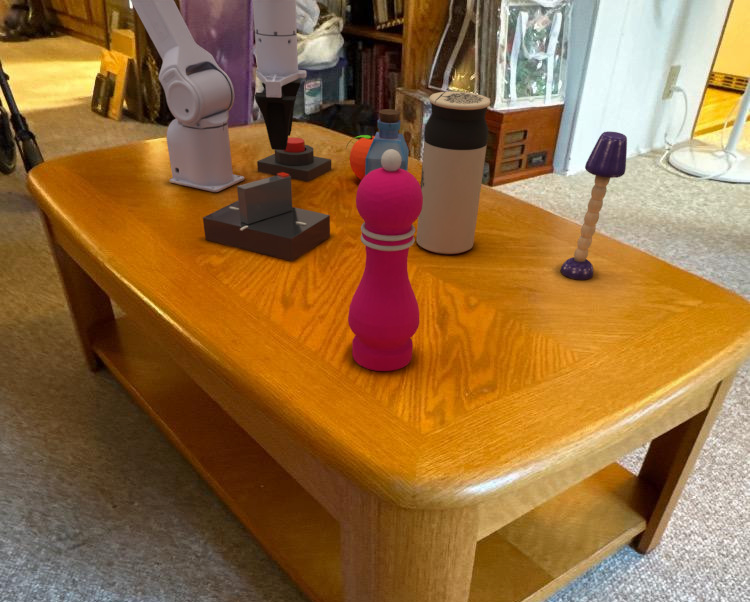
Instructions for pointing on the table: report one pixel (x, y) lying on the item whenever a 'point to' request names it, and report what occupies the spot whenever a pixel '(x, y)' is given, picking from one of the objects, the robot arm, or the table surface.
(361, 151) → the clementine
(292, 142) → the button
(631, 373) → the table surface
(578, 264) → the toy lamp
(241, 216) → the upright grey panel
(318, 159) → the control block
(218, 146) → the robot arm
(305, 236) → the base
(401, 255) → the pepper mill
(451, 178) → the travel mug
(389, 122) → the perfume bottle
